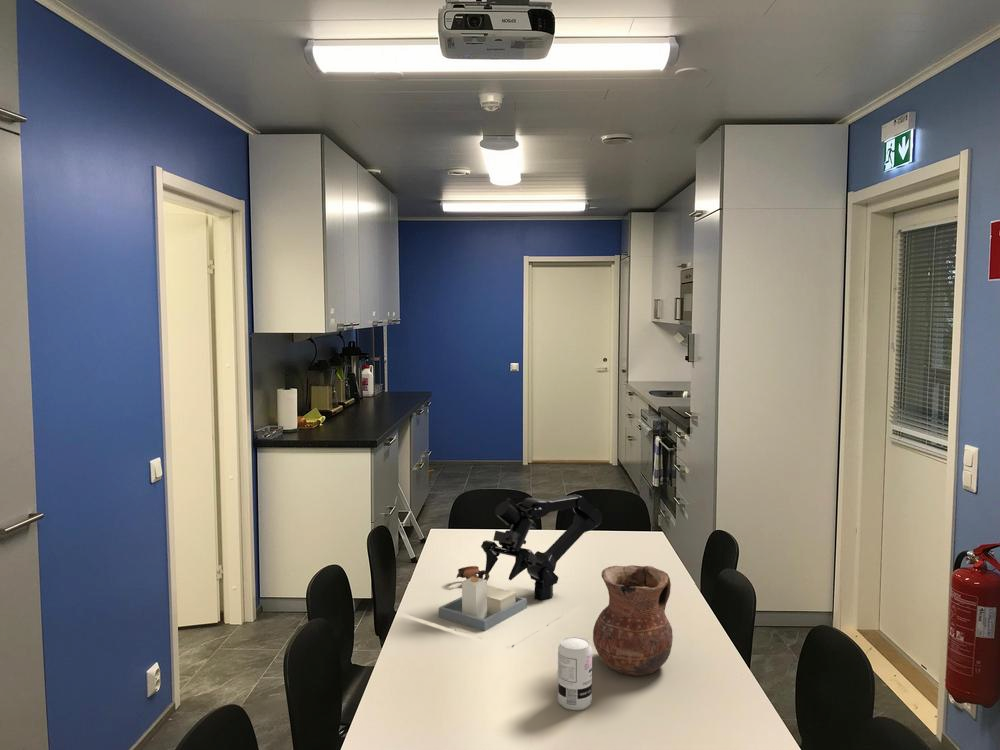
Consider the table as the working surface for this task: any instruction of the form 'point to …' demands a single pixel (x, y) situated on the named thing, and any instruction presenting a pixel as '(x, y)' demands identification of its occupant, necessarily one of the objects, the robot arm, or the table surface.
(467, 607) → the juice carton
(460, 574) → the pottery mug
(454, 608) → the tote
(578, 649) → the supplement can
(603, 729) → the table surface
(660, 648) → the jug
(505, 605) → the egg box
